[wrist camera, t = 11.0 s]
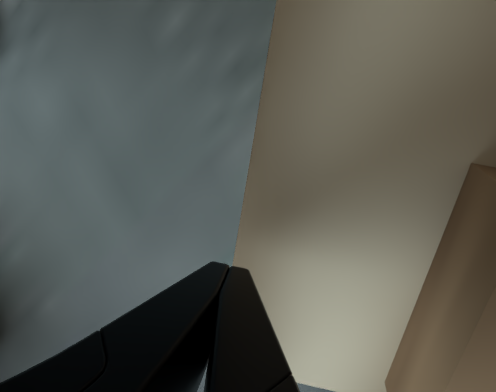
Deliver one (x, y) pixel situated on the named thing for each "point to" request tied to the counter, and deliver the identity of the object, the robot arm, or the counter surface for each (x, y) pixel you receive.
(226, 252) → the counter surface
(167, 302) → the robot arm
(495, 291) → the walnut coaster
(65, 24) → the counter surface
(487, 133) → the deck
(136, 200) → the counter surface
